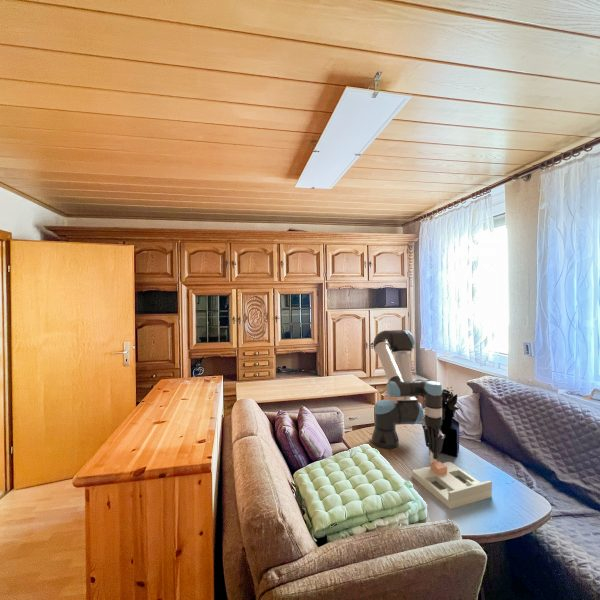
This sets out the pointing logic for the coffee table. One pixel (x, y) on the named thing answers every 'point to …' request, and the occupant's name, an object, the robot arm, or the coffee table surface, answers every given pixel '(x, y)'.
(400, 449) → the coffee table surface
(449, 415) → the vase
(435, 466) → the block
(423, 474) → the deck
